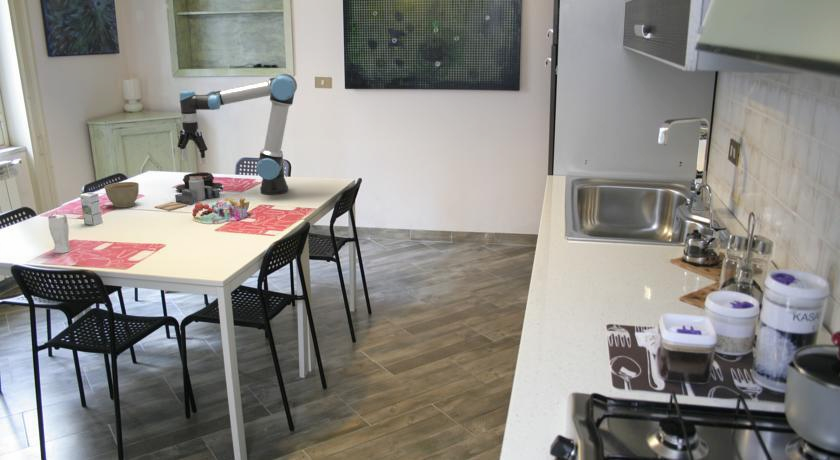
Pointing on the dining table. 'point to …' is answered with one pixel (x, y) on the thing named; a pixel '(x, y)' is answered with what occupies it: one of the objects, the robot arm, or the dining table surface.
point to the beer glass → (59, 232)
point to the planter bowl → (122, 193)
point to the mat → (171, 206)
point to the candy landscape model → (221, 211)
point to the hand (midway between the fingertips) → (193, 162)
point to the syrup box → (91, 208)
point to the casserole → (205, 176)
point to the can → (197, 187)
